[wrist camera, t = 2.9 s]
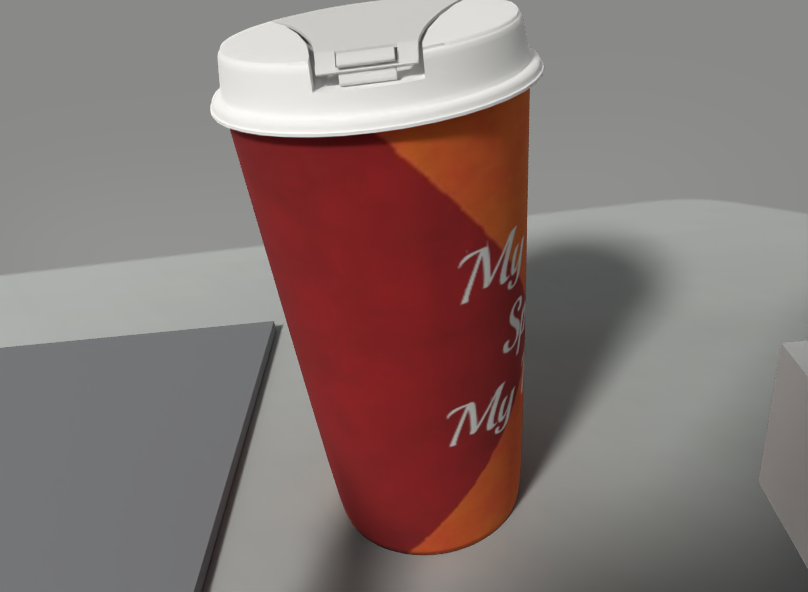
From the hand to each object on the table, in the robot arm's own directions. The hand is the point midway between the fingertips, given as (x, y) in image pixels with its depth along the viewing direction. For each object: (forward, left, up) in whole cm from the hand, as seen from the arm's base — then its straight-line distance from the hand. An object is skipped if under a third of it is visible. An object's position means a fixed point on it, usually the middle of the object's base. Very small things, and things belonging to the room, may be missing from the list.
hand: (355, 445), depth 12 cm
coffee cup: (0, -10, -10) cm, 14 cm away
